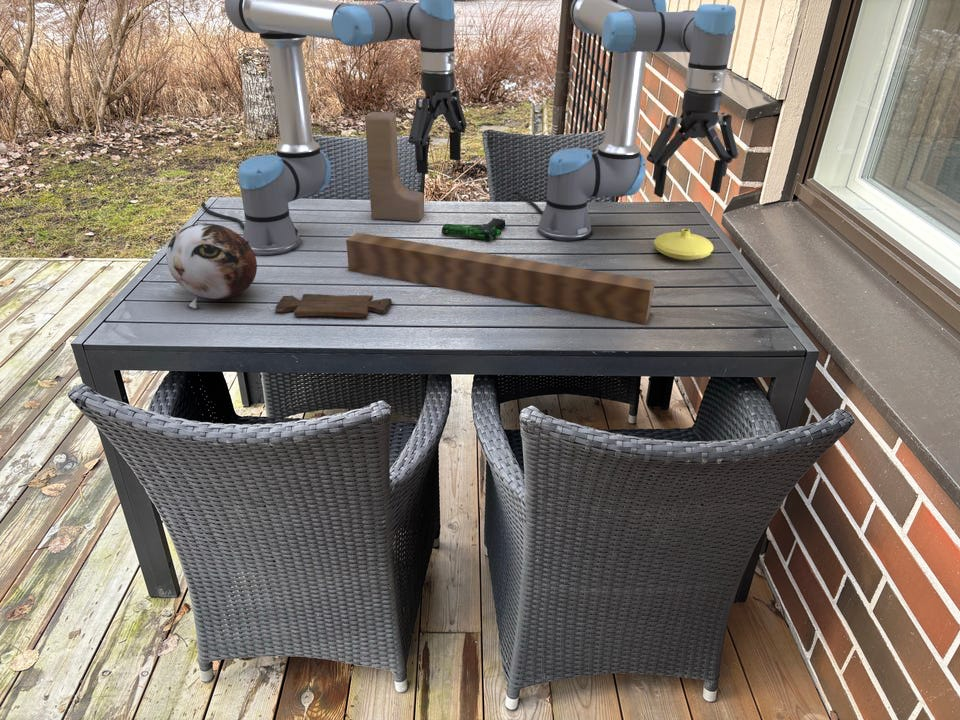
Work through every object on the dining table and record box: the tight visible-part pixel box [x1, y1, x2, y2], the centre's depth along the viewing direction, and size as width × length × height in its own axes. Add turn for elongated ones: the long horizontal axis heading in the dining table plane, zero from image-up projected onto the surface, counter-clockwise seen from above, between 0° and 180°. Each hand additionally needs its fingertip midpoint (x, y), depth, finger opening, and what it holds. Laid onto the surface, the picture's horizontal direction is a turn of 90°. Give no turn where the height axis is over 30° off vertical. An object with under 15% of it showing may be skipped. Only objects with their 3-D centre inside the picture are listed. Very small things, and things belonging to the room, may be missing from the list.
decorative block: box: [364, 111, 425, 222], centre depth 210 cm, size 8×15×30 cm, turn 82°
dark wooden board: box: [275, 293, 392, 318], centre depth 164 cm, size 26×2×10 cm
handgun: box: [441, 217, 506, 242], centre depth 207 cm, size 16×3×15 cm
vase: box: [653, 228, 715, 261], centre depth 193 cm, size 16×16×7 cm
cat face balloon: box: [165, 222, 258, 309], centre depth 165 cm, size 22×18×20 cm
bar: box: [345, 232, 656, 325], centre depth 171 cm, size 76×6×8 cm, turn 69°
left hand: (439, 166), depth 170 cm, fingers open, 13 cm apart
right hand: (686, 193), depth 155 cm, fingers open, 13 cm apart
